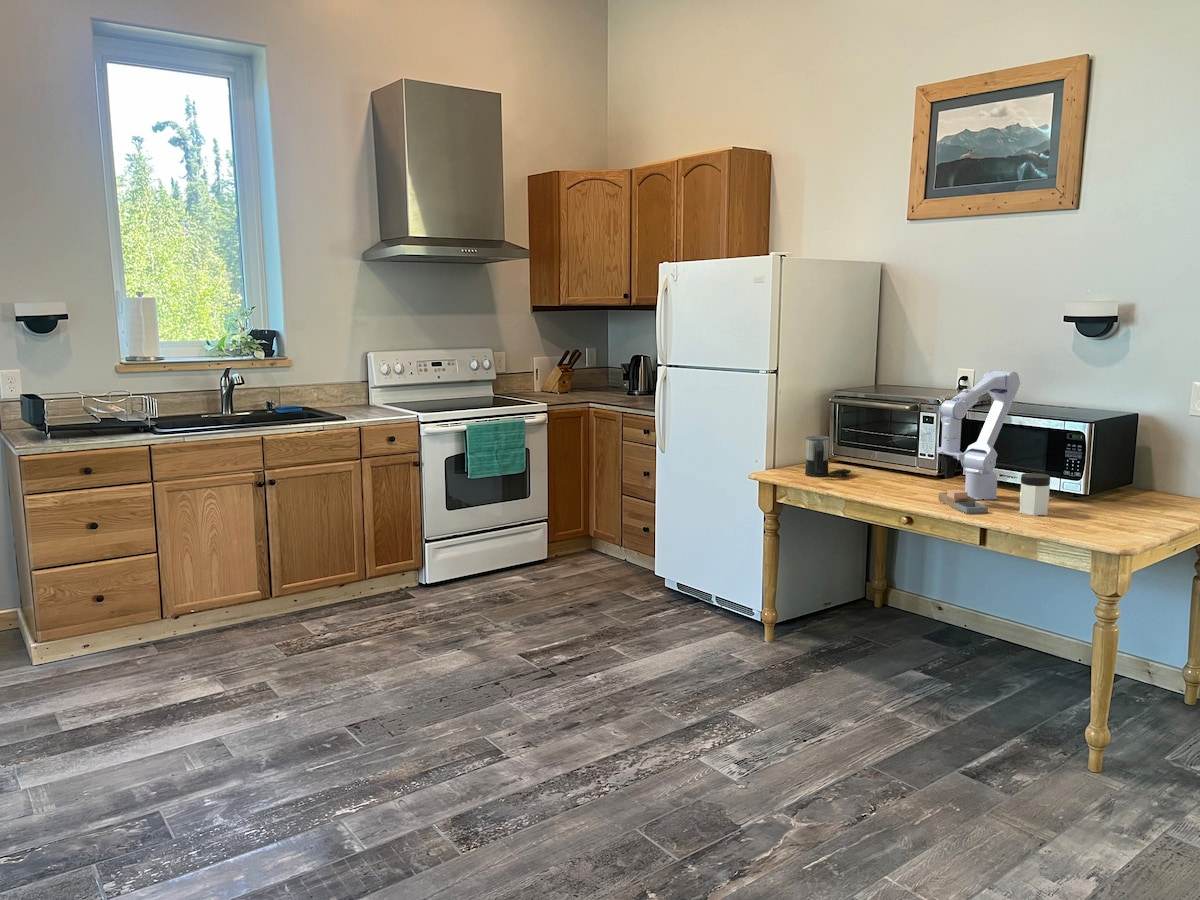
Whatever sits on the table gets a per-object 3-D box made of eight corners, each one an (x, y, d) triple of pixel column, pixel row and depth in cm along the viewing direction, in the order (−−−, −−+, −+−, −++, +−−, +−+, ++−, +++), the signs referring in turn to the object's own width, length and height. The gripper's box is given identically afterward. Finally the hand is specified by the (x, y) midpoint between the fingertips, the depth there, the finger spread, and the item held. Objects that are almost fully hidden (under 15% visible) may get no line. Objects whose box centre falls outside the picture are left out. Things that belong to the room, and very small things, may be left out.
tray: (974, 507, 280) (975, 501, 279) (987, 513, 272) (988, 507, 272) (954, 508, 279) (954, 502, 279) (966, 514, 272) (966, 508, 271)
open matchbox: (958, 500, 290) (958, 491, 289) (974, 507, 280) (975, 498, 279) (938, 501, 289) (938, 492, 289) (954, 508, 279) (954, 499, 278)
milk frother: (800, 473, 341) (801, 435, 338) (838, 471, 343) (839, 434, 341) (815, 480, 327) (816, 441, 324) (854, 478, 330) (855, 439, 327)
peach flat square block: (960, 495, 284) (960, 489, 284) (967, 498, 280) (967, 492, 280) (947, 495, 284) (947, 489, 283) (954, 498, 279) (954, 492, 279)
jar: (1018, 508, 277) (1020, 471, 275) (1047, 510, 274) (1049, 473, 272) (1019, 515, 269) (1021, 477, 267) (1048, 517, 266) (1051, 479, 264)
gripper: (928, 434, 290) (926, 474, 292) (950, 441, 276) (948, 482, 278) (948, 433, 291) (946, 473, 293) (971, 440, 276) (969, 482, 279)
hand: (948, 478), depth 286 cm, fingers closed
